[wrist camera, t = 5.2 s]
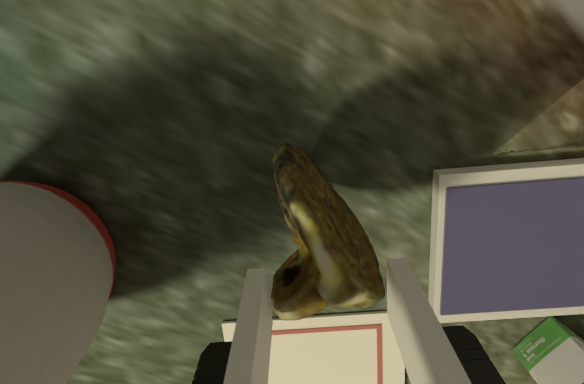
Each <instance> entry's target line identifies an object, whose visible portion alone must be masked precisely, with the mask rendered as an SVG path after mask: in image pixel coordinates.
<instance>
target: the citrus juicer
mask: <svg viewBox="0 0 584 384" xmlns="http://www.w3.org/2000/svg"><path fill="white" fill-rule="evenodd" d="M114 279H115V251H114V246H113V241H112V239H111V237H110V235H109V232H108V230H107V228H106V227H105V225H104V224H103V222H102V221H101V219H100V218H99V217H98V216H97V215H96V214H95V212H94V211H93V210H92V209H91V208H90V207H89V206H87V205H86V204H85V203H83V202H82V201H81V200H79V199H78V198H77V197H75V196H73V195H71V194H69V193H68V192H66V191H64V190H62V189H59V188H56V187H53V186H50V185H46V184H39V183H33V182H24V181H0V384H66V382H67V381H68V379H69V378H70V376H71V375H72V374H73V372H74V371H75V369H76V367H77V366H78V364H79V362H80V361H81V359H82V357H83V356H84V354H85V353H86V351H87V349H88V348H89V346H90V344H91V342H92V340H93V338H94V336H95V335H96V333H97V330H98V328H99V326H100V323H101V321H102V319H103V316H104V314H105V310H106V306H107V302H108V300H109V298H110V296H111V293H112V289H113V285H114Z"/></svg>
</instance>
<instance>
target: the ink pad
mask: <svg viewBox="0 0 584 384" xmlns="http://www.w3.org/2000/svg"><path fill="white" fill-rule="evenodd" d="M428 301H429V303H430V305H431V307H432V309H433V311H434V313H435V315H436V317H437V319H438V321H439V322H440V323H448V322H464V321H480V320H495V319H511V318H527V317H543V316H559V315H574V314H584V158H575V159H563V160H550V161H537V162H525V163H512V164H499V165H487V166H474V167H461V168H449V169H436V170H433V188H432V215H431V241H430V268H429V295H428Z"/></svg>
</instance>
